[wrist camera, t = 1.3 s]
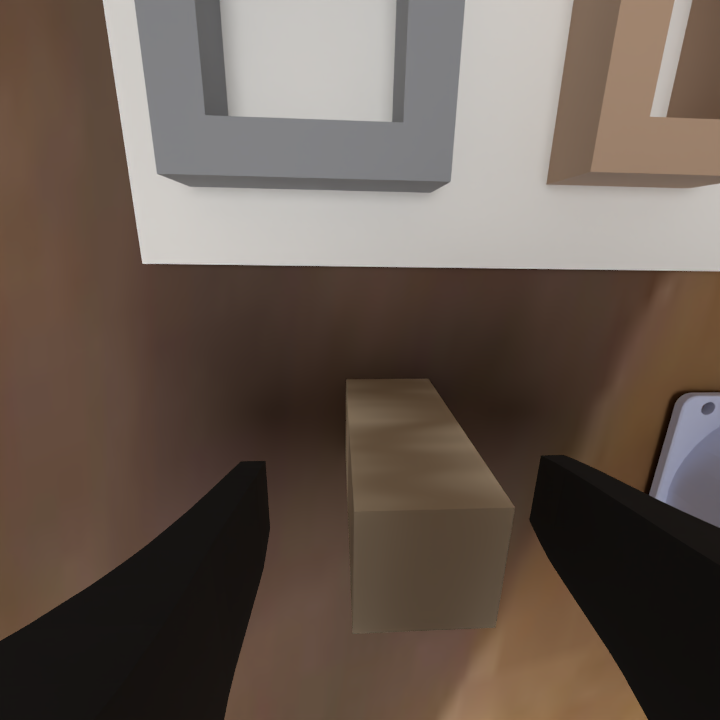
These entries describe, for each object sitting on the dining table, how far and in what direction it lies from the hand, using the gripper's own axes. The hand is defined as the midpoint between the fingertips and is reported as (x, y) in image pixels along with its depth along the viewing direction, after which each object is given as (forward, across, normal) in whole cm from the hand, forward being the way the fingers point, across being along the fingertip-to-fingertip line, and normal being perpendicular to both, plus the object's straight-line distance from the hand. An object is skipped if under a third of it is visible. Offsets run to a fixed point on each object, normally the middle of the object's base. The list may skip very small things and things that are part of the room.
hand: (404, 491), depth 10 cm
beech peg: (+4, 0, 0) cm, 5 cm away
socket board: (+4, -2, -11) cm, 12 cm away
